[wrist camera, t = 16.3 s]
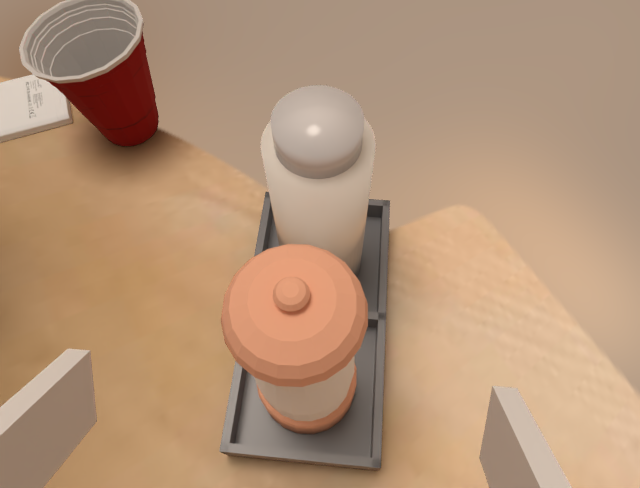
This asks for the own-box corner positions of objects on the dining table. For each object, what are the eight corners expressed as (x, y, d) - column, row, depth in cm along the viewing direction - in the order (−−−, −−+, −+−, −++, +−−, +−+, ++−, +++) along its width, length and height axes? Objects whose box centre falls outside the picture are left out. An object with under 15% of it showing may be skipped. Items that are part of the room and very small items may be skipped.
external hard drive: (-45, 105, 55) (67, 76, 56) (-45, 159, 51) (75, 126, 53) (-56, 94, 53) (60, 64, 55) (-56, 149, 49) (68, 115, 51)
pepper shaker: (258, 344, 39) (205, 226, 22) (347, 334, 40) (361, 209, 23) (264, 440, 36) (206, 385, 19) (361, 428, 36) (389, 363, 19)
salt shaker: (278, 294, 41) (246, 164, 25) (288, 225, 45) (265, 72, 29) (358, 300, 41) (376, 173, 25) (362, 231, 44) (381, 78, 28)
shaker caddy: (227, 455, 36) (219, 451, 34) (269, 209, 47) (265, 191, 44) (376, 470, 36) (380, 468, 33) (386, 218, 46) (389, 200, 43)
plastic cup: (79, 98, 54) (17, -1, 43) (176, 81, 55) (140, -19, 44) (77, 176, 49) (7, 85, 38) (185, 156, 50) (146, 63, 39)
